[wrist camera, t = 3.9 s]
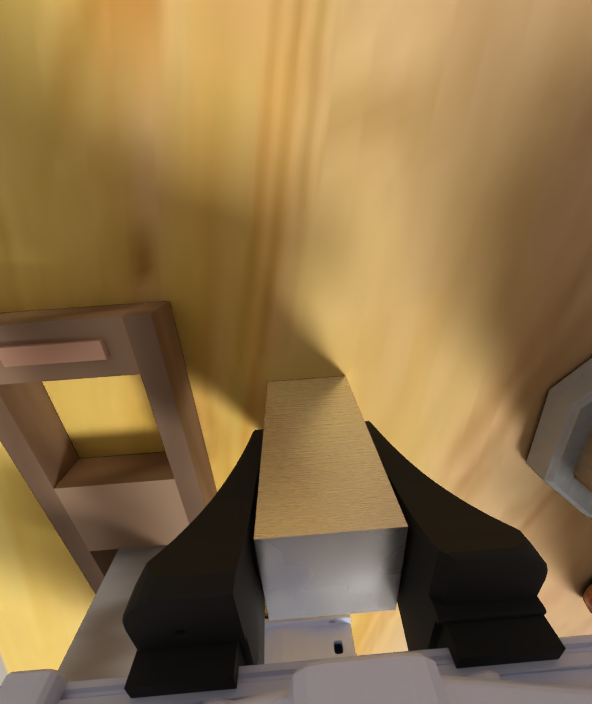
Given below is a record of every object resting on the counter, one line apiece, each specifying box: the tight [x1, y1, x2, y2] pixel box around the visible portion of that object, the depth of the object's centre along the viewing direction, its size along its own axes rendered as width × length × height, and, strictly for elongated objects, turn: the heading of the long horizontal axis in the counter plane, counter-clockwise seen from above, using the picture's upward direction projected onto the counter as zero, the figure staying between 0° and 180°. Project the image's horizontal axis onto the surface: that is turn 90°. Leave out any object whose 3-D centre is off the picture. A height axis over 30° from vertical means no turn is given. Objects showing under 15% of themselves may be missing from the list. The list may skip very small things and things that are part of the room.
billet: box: [254, 376, 408, 621], centre depth 12 cm, size 4×4×8 cm
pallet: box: [0, 301, 217, 682], centre depth 14 cm, size 8×22×8 cm, turn 4°
